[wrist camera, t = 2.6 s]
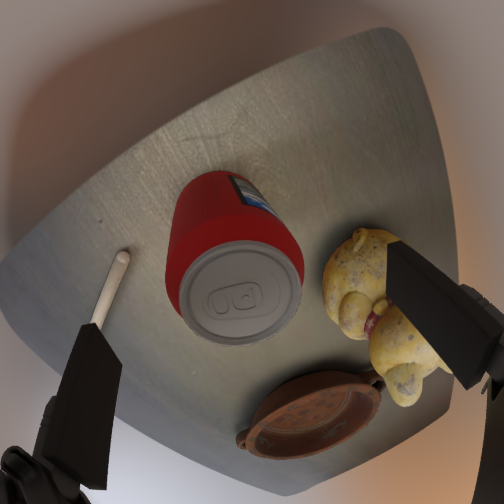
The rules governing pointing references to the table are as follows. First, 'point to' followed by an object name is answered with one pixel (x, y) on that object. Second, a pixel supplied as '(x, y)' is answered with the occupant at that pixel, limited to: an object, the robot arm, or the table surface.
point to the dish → (312, 414)
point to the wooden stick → (110, 288)
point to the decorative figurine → (377, 314)
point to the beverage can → (231, 262)
